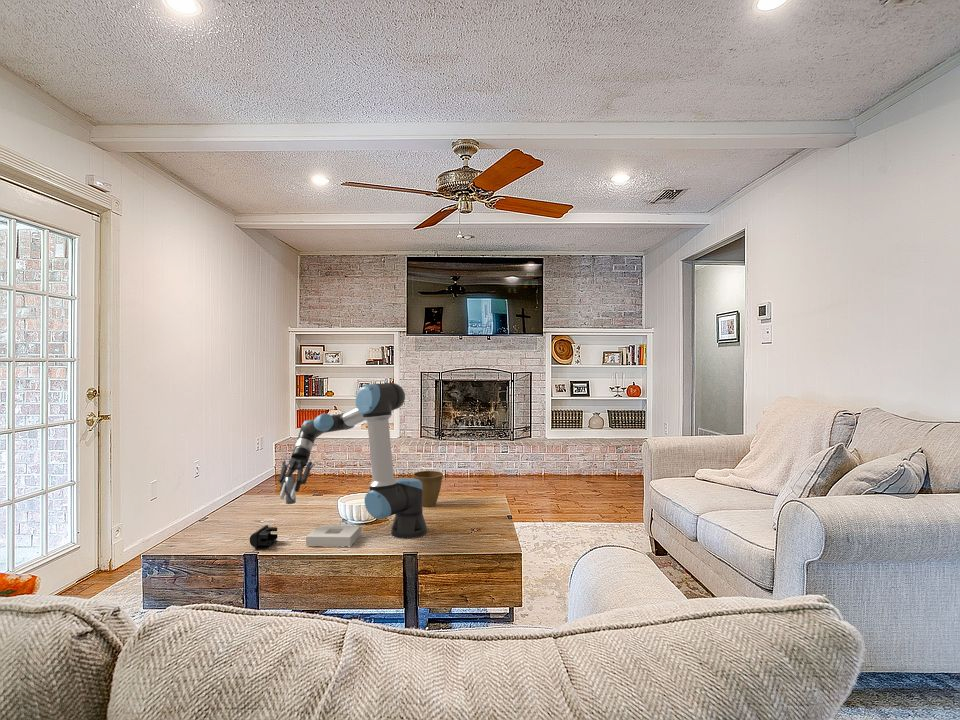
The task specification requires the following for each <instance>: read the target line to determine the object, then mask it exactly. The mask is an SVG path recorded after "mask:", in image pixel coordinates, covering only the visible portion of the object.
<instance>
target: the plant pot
mask: <svg viewBox="0 0 960 720" xmlns="http://www.w3.org/2000/svg"><path fill="white" fill-rule="evenodd" d="M412 475H413V476H412V477H413V479H418V480H420V481H421V482H422V489H423V490H422V503H423V508H432V507H435V506H436V504H437V502H438V498H439V496H440V492H441V488H442V483H443V475H444V473H443V472H441V471H438V470H437V471H435V470H422V471H417V472H414V473H413V474H412Z"/></svg>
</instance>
